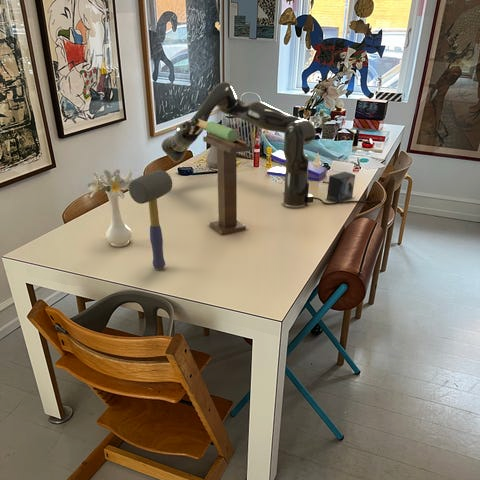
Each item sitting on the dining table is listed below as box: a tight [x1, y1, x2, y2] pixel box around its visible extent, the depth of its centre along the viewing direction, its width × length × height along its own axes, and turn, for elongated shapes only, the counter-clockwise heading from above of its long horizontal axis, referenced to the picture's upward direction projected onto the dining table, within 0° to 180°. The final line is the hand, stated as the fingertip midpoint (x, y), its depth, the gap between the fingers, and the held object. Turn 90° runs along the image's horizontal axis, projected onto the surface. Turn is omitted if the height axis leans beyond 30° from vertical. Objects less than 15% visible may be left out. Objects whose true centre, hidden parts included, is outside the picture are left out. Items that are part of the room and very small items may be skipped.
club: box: [197, 119, 239, 142], centre depth 169 cm, size 28×4×4 cm, turn 30°
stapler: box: [266, 149, 328, 182], centre depth 237 cm, size 12×28×10 cm, turn 63°
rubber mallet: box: [128, 169, 173, 271], centre depth 144 cm, size 12×8×30 cm, turn 150°
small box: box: [326, 171, 356, 203], centre depth 206 cm, size 11×6×10 cm, turn 131°
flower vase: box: [87, 169, 136, 248], centre depth 162 cm, size 13×18×25 cm
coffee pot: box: [205, 138, 246, 169], centre depth 248 cm, size 21×12×15 cm, turn 68°
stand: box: [202, 132, 252, 236], centre depth 172 cm, size 20×10×32 cm, turn 30°
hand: (201, 119), depth 175 cm, fingers closed on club, 2 cm apart
